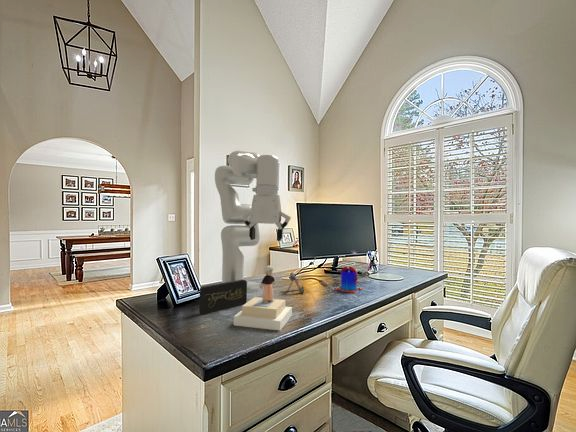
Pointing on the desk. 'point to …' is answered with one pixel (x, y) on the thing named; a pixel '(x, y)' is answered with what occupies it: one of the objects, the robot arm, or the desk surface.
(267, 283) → the grandmother figurine
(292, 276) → the portable electronic device stand
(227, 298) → the nameplate
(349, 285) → the fantasy tower
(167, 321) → the desk surface
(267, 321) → the plinth
